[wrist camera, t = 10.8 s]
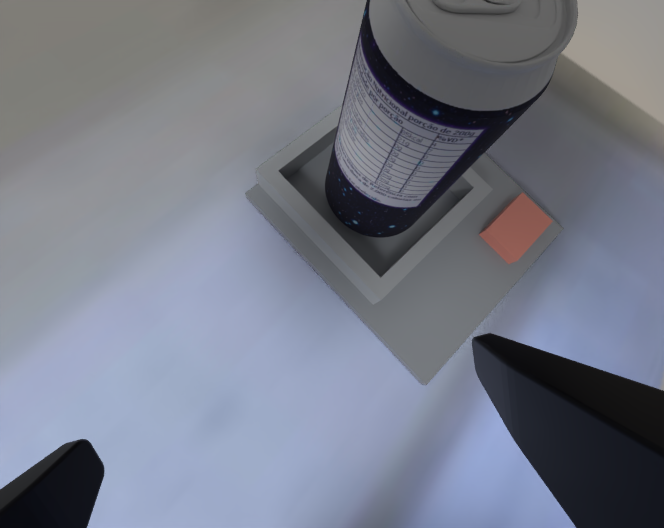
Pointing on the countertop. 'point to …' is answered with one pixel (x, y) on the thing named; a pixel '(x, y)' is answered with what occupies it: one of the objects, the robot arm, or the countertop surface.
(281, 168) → the socket plate
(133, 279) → the countertop surface
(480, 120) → the beverage can
